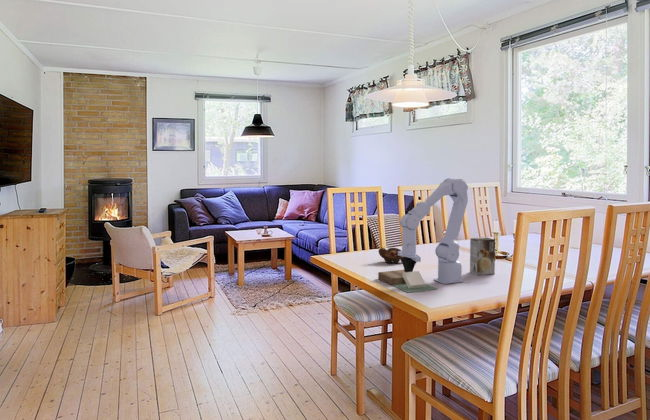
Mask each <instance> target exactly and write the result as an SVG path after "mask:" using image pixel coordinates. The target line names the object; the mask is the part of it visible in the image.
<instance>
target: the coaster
mask: <svg viewBox="0 0 650 420" xmlns="http://www.w3.org/2000/svg"><path fill="white" fill-rule="evenodd" d="M402 276H403V278H404V280H405V282H406V284H407V286H408V288H409V289H412V288H421V287H425V285H426V284H427V283H426V282H425V280H424V278H423V276H422V274H421V273H420V271H419V270H415V271H414V270H413V272H404V273H403V275H402Z"/></svg>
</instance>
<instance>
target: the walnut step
mask: <svg viewBox="0 0 650 420" xmlns="http://www.w3.org/2000/svg"><path fill="white" fill-rule="evenodd" d="M404 272H405V270H404V269H397V270H388V271H379V272H378V273H377V275H378V277H377V279H378V280H380V281H381V282H383V283H386V284H388V285H390V286H392V285H395V284H404V283H406V282H405V280H404V278H403V276H402V275H403V273H404Z"/></svg>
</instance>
